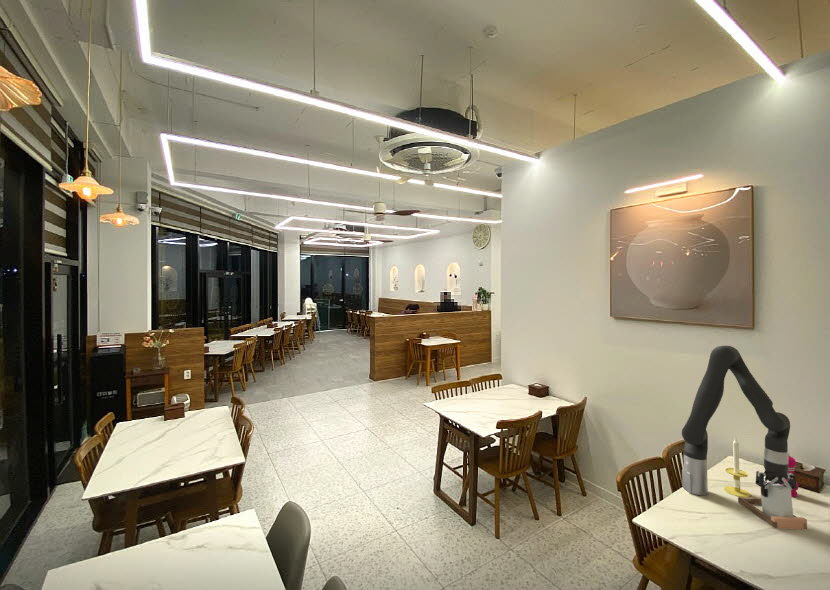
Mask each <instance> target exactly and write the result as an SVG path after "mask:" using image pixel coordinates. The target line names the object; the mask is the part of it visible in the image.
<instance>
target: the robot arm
mask: <svg viewBox="0 0 830 590" xmlns="http://www.w3.org/2000/svg"><path fill="white" fill-rule="evenodd" d="M728 371H730V373H732V374H733V376H734V377H735V379H736V381H737V383H738V386H739V388H740V390H741V392H742V393H743V395H744V396H745V397H746V399H747V401H748V402H749V403H750V404H751V405H752V407H753V408H754V411H755V413H756V415H757V417H758V419H759V420H760V422H761V424H762V425H763V426H764V427H765V428H766V429H768V430H767V433H766V435H765V437H764V449H763V469H764V472H763V471H762V472H761V471H759V470H757V471H756V472H755V473H756V474H755V485H756V486H758V487H759V488H760V487H761V488H760V495H761V494H762V495H763V496H764V497H768V487H769V486H772V485H773V484H782V485H783V486H785V487H788V488H790V489H791V490H792V489H796V488H797V486H796V481H797V476H796V475H795V474H794V473H793V474H794V475H793V474H792V473H788V453H789V451H788V450H789V449H788V440H789V435H790V430H791V421H790V419H789V417H788V416H787V415H785V414H784V413H781V412H776V410H775V408H774V407H773V405H774V402H773V400H772V399H771V398H770V397H769V396H768V394H767V392H766V391H765V390H764V389H763V387H761V385H760V384H759V382H758V381H757V380H756V378H755V377H754V376H753V374H752V373H751V371H750V369H749V368H748V366H747V364H746V363H745V361H744V359H743V357H742V356H741V354H740V352H739V350H738V349H737V348H735V347H734V346H731V345H721V346H719V345H718V346H716V347H715V348H713V349H711V352H710V356H709V359H708V364H707V368H706V371H705V373H704V376H703V377H702V380H701V382H700V385H699V386H698V388H697V389H698V390H697V392H696V395H695V397H694V400H693V404H692V408H691V411H690V415H689V416H688V418H687V421H686V422H685V424H684V426H683V428H682V429H681V436H682V439H683V440H684V447H683V468H682V469H681V479H682V480H681V481H682V482H681V483H682V488H683V489H684V490H685V491H686V492H688V493H689V494H693V495H697V496H707V495H708V494H709V487H708V486H709V485H708V480H709V479H708V451H709V450H708V449H709V447H708V446H709V444H708V443H709V440H708V438H709V435H708V432H707V427H708V424H709V422H710V420H711V419H712V417H713V415H714V414H715V412H716V411H717V409H718V407H719V406H720V403H721V401H722V399H723V396H724V391H725V379H726V376H727V373H728ZM787 478H788V482H787V481H786V479H787ZM767 481H770V482H767ZM766 483H767V484H766ZM765 484H766V485H765Z"/></svg>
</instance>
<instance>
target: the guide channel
mask: <svg viewBox="0 0 830 590" xmlns="http://www.w3.org/2000/svg"><path fill="white" fill-rule="evenodd" d="M737 503H738V504H740V505H741V506H742V507H744V508H746V509H747V510H748V511H750V512H751V513H752V514H754V515H755V516H756V517H758V518H760V519H761V520H763V522H765V523H767V524H768V525H769V526H770V527H772V528H773V529H779V528H778V525H777V522H776V523H774V522H773V521H772V520H771V517H769V516H768V515H766V514H765V513H763V512H762V510H760V509H759V508H758V507H756V506H755V505H760V506H762V500H761V497H738V496H737ZM793 517H797V516H796V515H795V514H793ZM806 524H807V526H806V527H807V528H808V522H807V523H805V525H806ZM775 525H776V526H775ZM774 526H775V527H776V528H775V527H774ZM803 530H806V529H805V528H804V529H803Z"/></svg>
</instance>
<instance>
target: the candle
mask: <svg viewBox="0 0 830 590" xmlns="http://www.w3.org/2000/svg"><path fill="white" fill-rule="evenodd" d="M739 444H740V443H739V442H738V440H737V437H735V438H734V440H733V442H732V450H733V451H732V454H733V455H732V456H733V457H732V458H733V461H732V462H733V468H732V467H727V468H725V472H726V473H727V474H729V475H732V476H733V477H732V478H733V486H730V485H727V486H724V488H723V490H724V492H726V493H727V494H730V495H732V496H734V495H735V496H734V497H737V498H738V497H751V496H752V495H751V493H750V492H749V491H747V490H745V489H743V488H741V478H746V477H749V473H747V472H746V471H744V470H741V469H740V450H739V449H740V445H739ZM751 498H752V497H751Z"/></svg>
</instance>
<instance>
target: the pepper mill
mask: <svg viewBox="0 0 830 590" xmlns="http://www.w3.org/2000/svg"><path fill="white" fill-rule="evenodd" d="M796 465H797V461H796V459H795V458H794V457H793V456H790V453H789V452H788V473H792V474H793V475H795V474H794V471H795V470H796V468H795V466H796ZM786 481H787V482H788V478H787V479H786ZM780 485H782V484H780ZM782 486H783V485H782ZM796 486H797V488H796V489H792V490H791V497H792V498H795V497H798V492H797V491H798V490H799V483H798V481H797V480H796Z"/></svg>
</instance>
